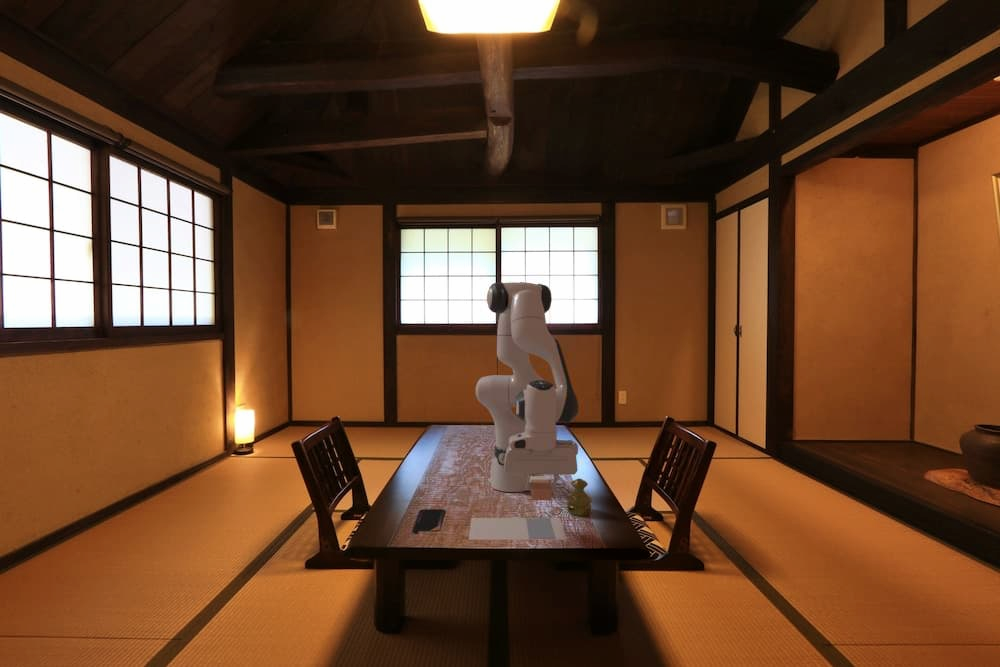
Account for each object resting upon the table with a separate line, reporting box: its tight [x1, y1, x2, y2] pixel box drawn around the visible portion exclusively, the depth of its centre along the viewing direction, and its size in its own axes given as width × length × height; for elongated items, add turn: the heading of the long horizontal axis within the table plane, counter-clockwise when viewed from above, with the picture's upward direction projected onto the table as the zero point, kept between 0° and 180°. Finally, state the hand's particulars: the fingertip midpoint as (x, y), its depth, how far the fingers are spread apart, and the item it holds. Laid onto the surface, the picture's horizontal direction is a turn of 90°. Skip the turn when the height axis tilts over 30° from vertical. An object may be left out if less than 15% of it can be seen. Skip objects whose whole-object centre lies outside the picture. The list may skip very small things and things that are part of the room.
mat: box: [468, 517, 568, 541], centre depth 137 cm, size 14×26×1 cm, turn 90°
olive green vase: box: [566, 478, 593, 517], centre depth 150 cm, size 7×7×10 cm
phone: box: [411, 508, 446, 534], centre depth 142 cm, size 8×1×15 cm
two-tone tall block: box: [530, 475, 553, 501], centre depth 136 cm, size 11×5×3 cm, turn 0°
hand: (540, 489), depth 136 cm, fingers closed on two-tone tall block, 5 cm apart
